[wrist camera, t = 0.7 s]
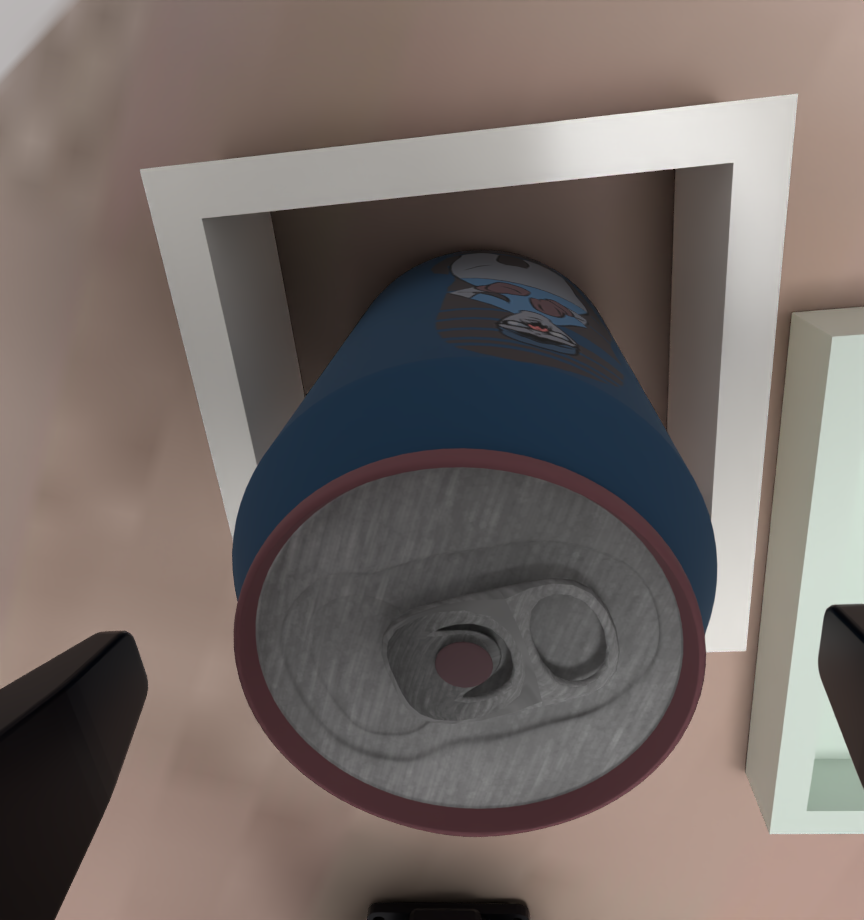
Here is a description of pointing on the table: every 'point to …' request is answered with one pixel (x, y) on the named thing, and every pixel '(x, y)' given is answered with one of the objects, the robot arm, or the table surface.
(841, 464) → the tray
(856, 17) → the table surface
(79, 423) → the table surface
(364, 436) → the soda can
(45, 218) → the table surface
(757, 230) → the pale square open box
